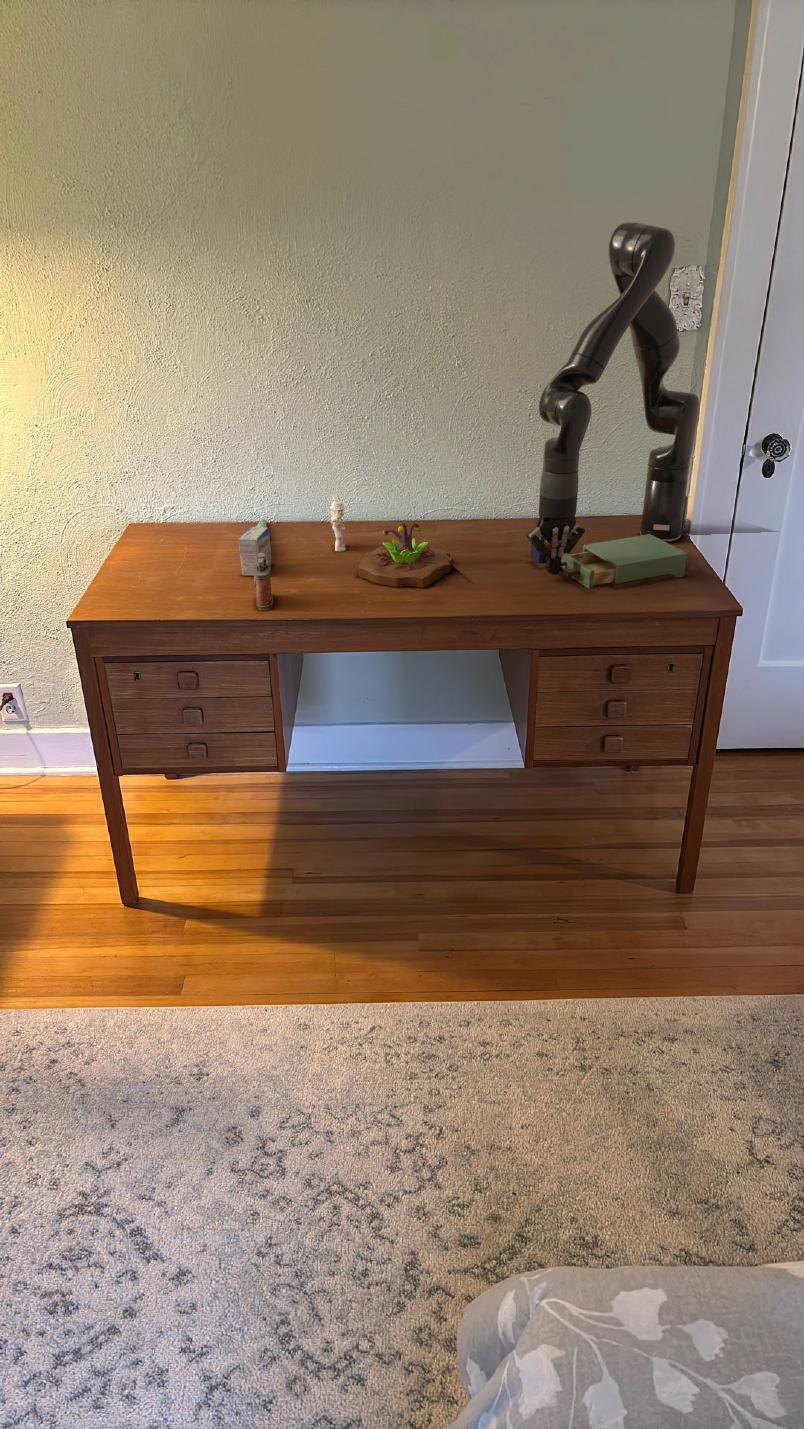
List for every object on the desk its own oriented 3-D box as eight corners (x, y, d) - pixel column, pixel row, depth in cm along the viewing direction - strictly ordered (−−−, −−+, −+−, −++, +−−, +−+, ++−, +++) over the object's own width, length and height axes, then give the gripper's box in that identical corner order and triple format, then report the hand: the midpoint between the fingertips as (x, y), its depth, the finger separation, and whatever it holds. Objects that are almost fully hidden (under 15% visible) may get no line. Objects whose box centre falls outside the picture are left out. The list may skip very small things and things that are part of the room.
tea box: (538, 568, 215) (540, 536, 211) (530, 562, 218) (531, 530, 214) (554, 566, 216) (557, 533, 212) (545, 560, 219) (547, 528, 215)
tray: (574, 593, 200) (576, 573, 198) (541, 571, 211) (543, 552, 209) (659, 578, 207) (661, 558, 205) (623, 557, 218) (625, 538, 216)
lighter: (257, 595, 204) (253, 549, 199) (273, 594, 204) (269, 548, 199) (255, 610, 197) (251, 563, 192) (272, 609, 197) (268, 562, 192)
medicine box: (261, 577, 213) (257, 539, 208) (241, 576, 213) (237, 537, 209) (272, 564, 219) (269, 527, 215) (253, 563, 220) (250, 526, 216)
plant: (345, 581, 210) (342, 530, 204) (378, 551, 226) (377, 503, 220) (433, 592, 204) (433, 540, 198) (461, 560, 220) (462, 512, 214)
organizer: (615, 588, 204) (618, 565, 201) (581, 567, 215) (583, 544, 212) (684, 576, 209) (687, 553, 207) (647, 556, 220) (650, 533, 218)
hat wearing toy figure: (332, 542, 232) (329, 492, 226) (348, 541, 232) (346, 491, 226) (330, 555, 224) (327, 504, 218) (347, 554, 224) (345, 503, 218)
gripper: (538, 501, 191) (533, 584, 199) (597, 492, 195) (589, 574, 204) (520, 490, 197) (516, 572, 205) (577, 483, 201) (571, 563, 210)
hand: (553, 573), depth 204 cm, fingers closed
